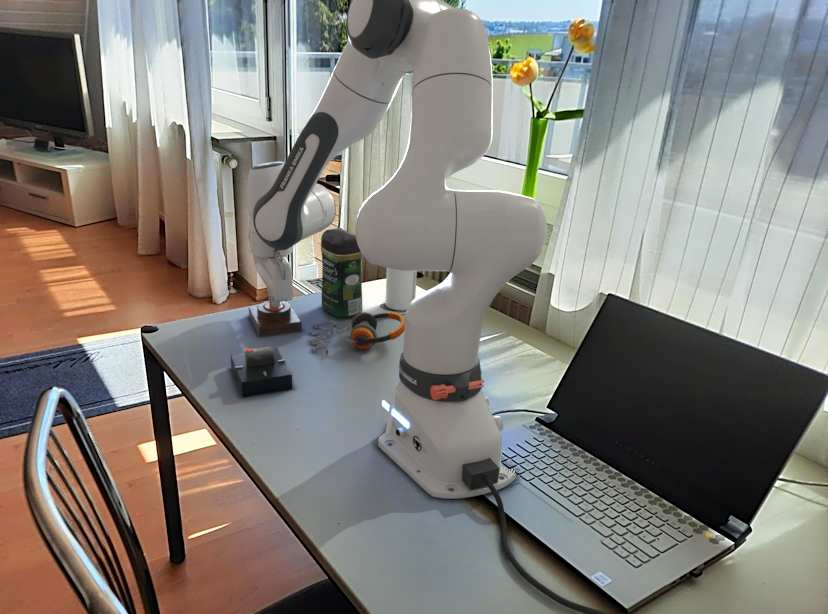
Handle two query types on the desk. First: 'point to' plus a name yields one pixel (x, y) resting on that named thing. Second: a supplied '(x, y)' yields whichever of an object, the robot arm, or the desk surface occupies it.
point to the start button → (269, 308)
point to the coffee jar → (341, 273)
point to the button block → (274, 319)
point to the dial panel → (261, 375)
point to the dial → (259, 356)
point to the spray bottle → (400, 288)
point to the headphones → (364, 330)
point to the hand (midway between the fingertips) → (274, 305)
